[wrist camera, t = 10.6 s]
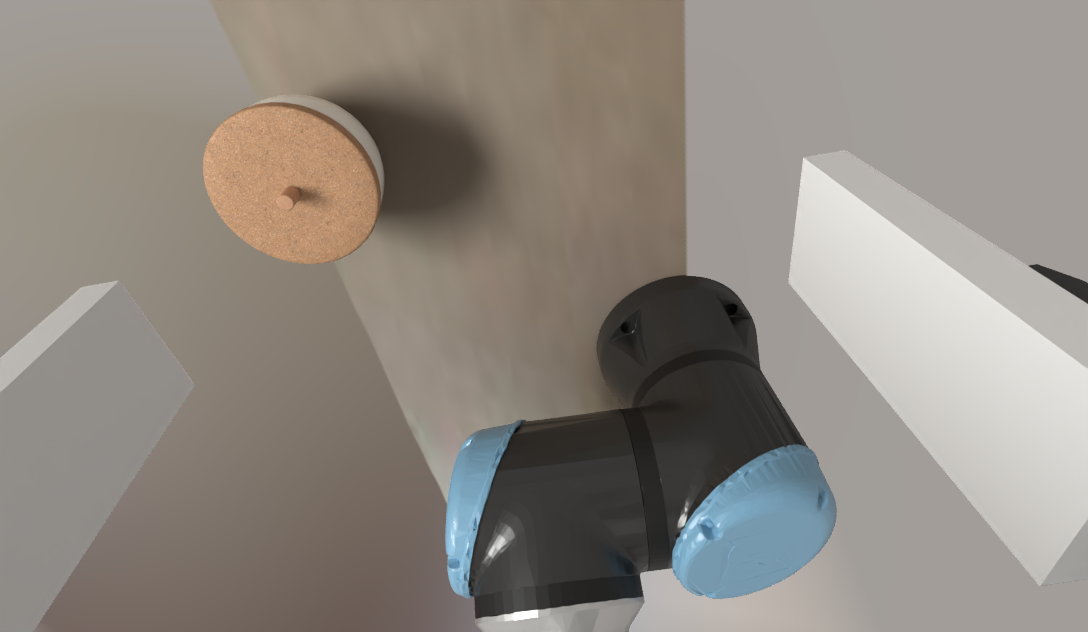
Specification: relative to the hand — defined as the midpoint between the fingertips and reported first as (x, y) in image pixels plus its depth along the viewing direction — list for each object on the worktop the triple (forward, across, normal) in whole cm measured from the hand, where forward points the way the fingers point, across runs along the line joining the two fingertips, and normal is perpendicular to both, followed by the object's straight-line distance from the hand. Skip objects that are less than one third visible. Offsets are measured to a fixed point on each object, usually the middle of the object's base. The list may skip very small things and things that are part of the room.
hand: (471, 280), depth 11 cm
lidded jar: (+33, +14, +6) cm, 36 cm away
